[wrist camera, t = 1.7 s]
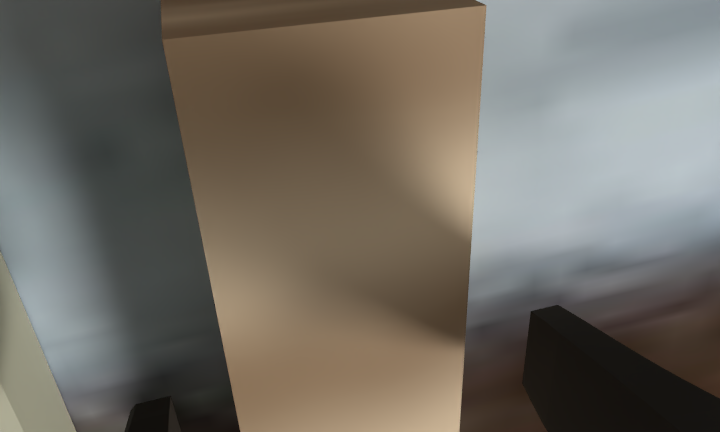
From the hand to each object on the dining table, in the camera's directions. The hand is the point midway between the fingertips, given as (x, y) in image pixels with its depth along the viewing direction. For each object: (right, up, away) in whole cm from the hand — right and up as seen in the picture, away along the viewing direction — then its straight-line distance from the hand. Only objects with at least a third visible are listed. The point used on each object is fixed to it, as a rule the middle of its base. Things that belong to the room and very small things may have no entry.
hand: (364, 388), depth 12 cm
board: (-1, +2, +4) cm, 5 cm away
